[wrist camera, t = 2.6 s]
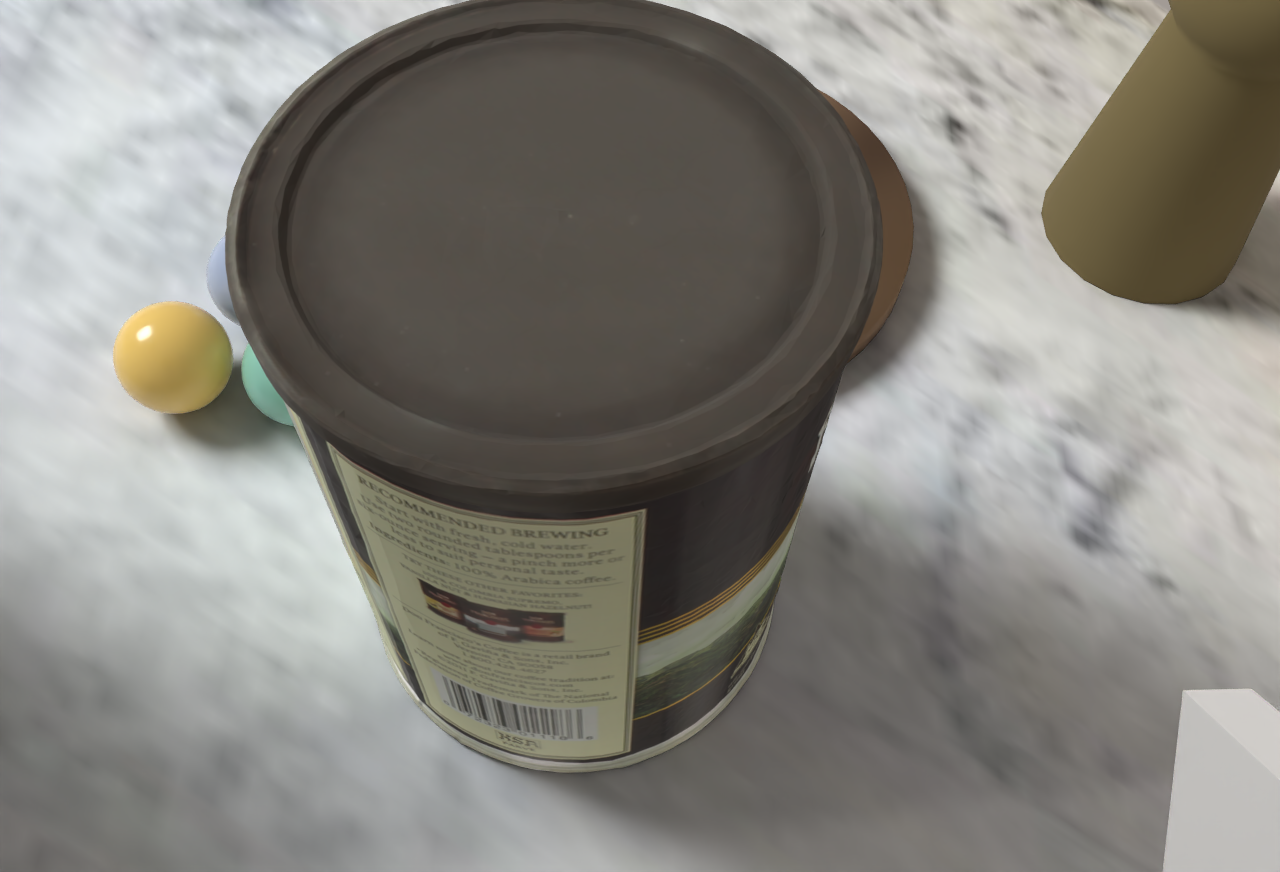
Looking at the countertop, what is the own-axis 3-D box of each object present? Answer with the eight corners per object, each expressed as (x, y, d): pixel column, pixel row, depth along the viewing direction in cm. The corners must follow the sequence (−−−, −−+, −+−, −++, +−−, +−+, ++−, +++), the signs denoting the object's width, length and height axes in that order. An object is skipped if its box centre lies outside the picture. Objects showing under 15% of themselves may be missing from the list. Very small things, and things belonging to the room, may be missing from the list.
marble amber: (119, 373, 34) (79, 308, 31) (221, 328, 35) (190, 261, 32) (158, 452, 33) (120, 391, 30) (262, 403, 33) (234, 340, 31)
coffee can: (718, 378, 34) (783, -48, 22) (823, 727, 29) (981, 422, 17) (352, 439, 33) (209, 21, 21) (394, 817, 28) (237, 555, 16)
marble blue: (206, 295, 35) (175, 227, 33) (302, 254, 36) (279, 184, 34) (247, 368, 34) (218, 303, 31) (345, 323, 35) (325, 257, 32)
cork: (1192, 146, 40) (1378, -172, 30) (1270, 292, 36) (1503, -10, 27) (1015, 164, 39) (1149, -155, 29) (1079, 314, 36) (1250, 12, 26)
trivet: (406, 174, 38) (402, 151, 37) (747, 30, 42) (750, 6, 41) (625, 485, 32) (626, 467, 32) (994, 287, 36) (1004, 266, 35)
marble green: (239, 385, 34) (210, 321, 31) (338, 339, 35) (317, 273, 32) (283, 465, 32) (256, 405, 30) (385, 416, 33) (367, 353, 31)
